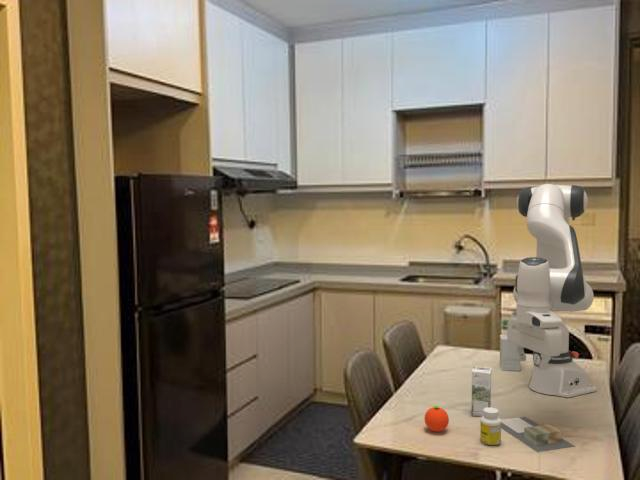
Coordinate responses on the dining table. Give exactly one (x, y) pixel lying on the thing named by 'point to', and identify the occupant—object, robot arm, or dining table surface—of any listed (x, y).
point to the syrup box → (480, 390)
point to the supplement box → (508, 355)
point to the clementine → (436, 419)
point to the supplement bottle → (490, 428)
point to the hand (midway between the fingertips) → (532, 365)
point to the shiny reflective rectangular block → (542, 435)
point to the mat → (517, 430)
